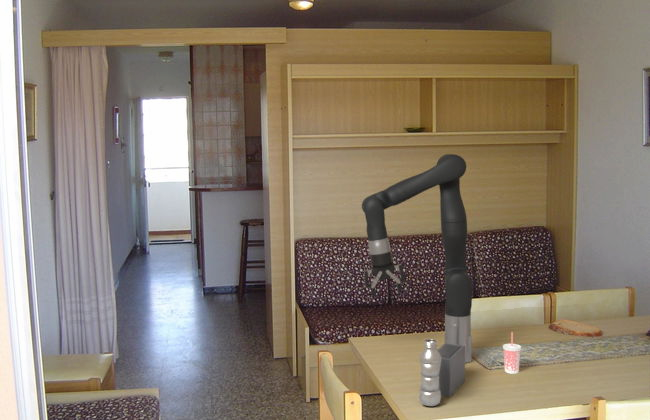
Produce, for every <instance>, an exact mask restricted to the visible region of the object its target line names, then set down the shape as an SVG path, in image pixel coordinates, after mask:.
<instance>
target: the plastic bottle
mask: <svg viewBox="0 0 650 420" xmlns="http://www.w3.org/2000/svg"><path fill="white" fill-rule="evenodd" d="M423 342H424V344H423V347H424V349H423V350H422V352H421V353H420V355H419V366H420V375H421V376H420V377H421V379H420V389H419V393H418V399H419V402H420V403H421V405H423V406H426V407H435V406H438V405H439V404H440V402H441V400H442V396H441V392H440V384H439V374H440V366H441V355H440V353H439V352H438V345H437V340H436V339H431V338H427V339H424V341H423Z"/></svg>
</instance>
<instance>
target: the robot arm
mask: <svg viewBox="0 0 650 420" xmlns="http://www.w3.org/2000/svg"><path fill="white" fill-rule="evenodd" d="M466 170H467V163H466V160H465V159H464V158H463V157H462V156H460V155H458V154H453V153H446V154H442V155H441V156H440V157H439V158H438V161H437V162H436V165H435V166H433V167H431V168H430V169H427V170H425V171H423V172H421V173H419V174H416V175H413V176H410V177H407V178H405V179H402V180H401V181H397V182H396V183H394V184H392V185H390V186H389V187H387V188H385V189H383V190H380V191H378V192H376V193H372V194H370V195H368V196H367V197H365V198H364V199H363V201H362V203H361V209H362V211H363V213H364V215H365V220H366V222H365V223H366V234H367V240H368V241H367V242H368V253H369V258H370V263H371V269H368V270H367V269H364V271H363V275H364V277H363V278H364V284H365V287H366V288H368V289H369V288H370V289H371V291H370V292H371V296H372V297H373V298H374V299H377V298H378V296H377V290H376V285H377V283H378V282H379V281H384V280H390V279H393V280H394V282H396V290H397V294H398V295H401V293H402V292H403V289H402V283H403V282H405V281H406V276H405V272H404V268H403V265H402V264H401V263H399V264H397V265H394V262H393V258H392V257H393V256H392V251H391V250H392V249H391V245H390V240H389V238H388V237H389V236H388V231H387V227H386V222H385V221H386V217H385V210H387V209H388V208H390V207H394V206H397V205H400V204H402V203H404V202H406V201H408V200H410V199H412V198H414V197H416V196H418V195H420V194H421V193H423V192H425V191H428V190H430V189H432V188H435V187H437V186H438V187H439V193H440V195H439V196H440V199H439V200H440V201H439V202H440V204H439V205H440V206H439V207H440V227H441V228H440V230H441V237H442V246H443V250H444V255H445V257H444V258H445V260H444V264H445V265H444V267H445V268H444V286H445V307H444V343H447V344H454V345H462V346H465V364H466V363H471V362H472V335H471V329H472V328H471V326H472V325H471V324H472V323H471V322H472V321H471V320H472V319H471V317H472V316H471V315H472V304H473V303H472V302H473V282H472V279H471V277H470V275H469V273H468V267H467V260H466V249H467V243H468V219H467V212H466V209H465V205H464V202H463V198H462V195H461V190H460V189H461V187H460V184H461V181H460V178H462V177H463V176H464V175H465V173H466ZM395 270H396V271H397V272H399V275H400V278H398V277H397V276H396V275H395V274H394V272H395ZM371 274H372V275H373V276H374V278H373V279H372V282H371V283H370V279H369V277H370V276H371Z"/></svg>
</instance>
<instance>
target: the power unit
mask: <svg viewBox="0 0 650 420" xmlns="http://www.w3.org/2000/svg"><path fill="white" fill-rule="evenodd" d="M437 350H438V352H439V353H440V355H441V366H440V374H439V384H440V392H441V397H447V398H451V397H452V396H453V395H454V393H455V392H456V391H457V390H458V389H459V388H460V387H461V386H462V385H463V383H465V382H466V363H465V346H462V345H454V344H447V343H445V342H444V343H443V344H442V345H440V347H439V348H437Z"/></svg>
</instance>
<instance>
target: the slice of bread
mask: <svg viewBox="0 0 650 420" xmlns="http://www.w3.org/2000/svg"><path fill="white" fill-rule="evenodd" d="M548 329H550V330H552V331H554V332H557V333H559V334H564V335H569V336H575V337H583V338H584V337H586V338H597V337H602V336H603V333H602V330H601V329H600V328H599V327H595V326H593V325H590V324H587V323H584V322H583V323H582V322H579V321H578V322H577V321H574V320H570V319H559V320H555V321H553V322H552V323H550V324H549V325H548Z"/></svg>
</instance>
